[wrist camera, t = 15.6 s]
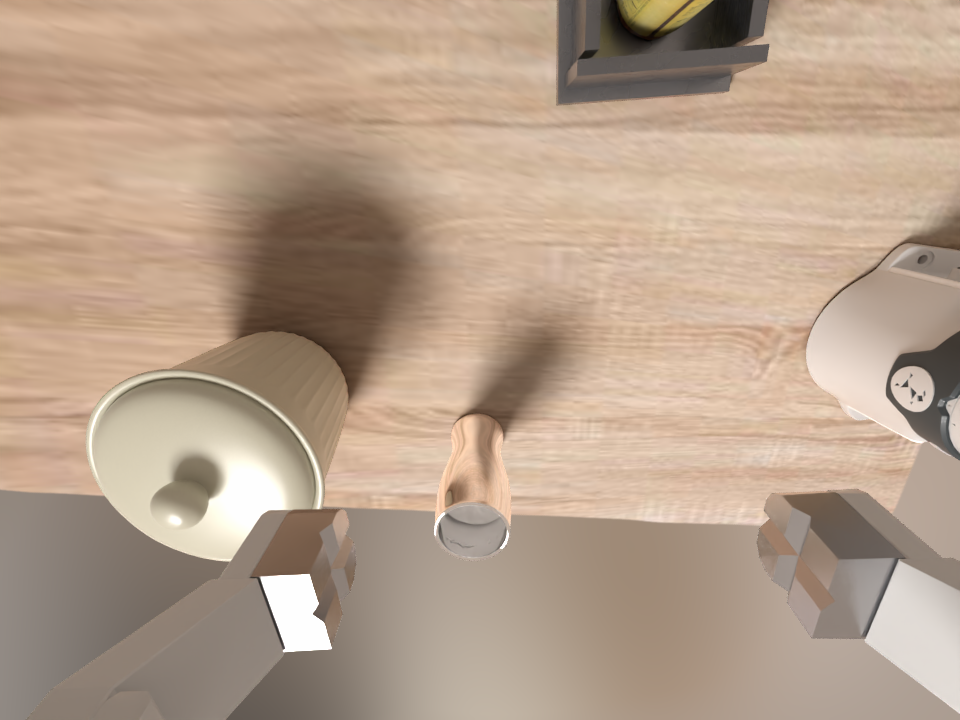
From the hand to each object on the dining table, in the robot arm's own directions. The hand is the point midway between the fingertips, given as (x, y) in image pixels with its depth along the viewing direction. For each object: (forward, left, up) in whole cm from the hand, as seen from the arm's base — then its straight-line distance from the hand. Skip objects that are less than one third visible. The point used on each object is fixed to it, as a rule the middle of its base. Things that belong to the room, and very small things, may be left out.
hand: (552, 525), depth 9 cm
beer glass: (+4, +22, -37) cm, 44 cm away
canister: (+24, +14, -37) cm, 47 cm away
